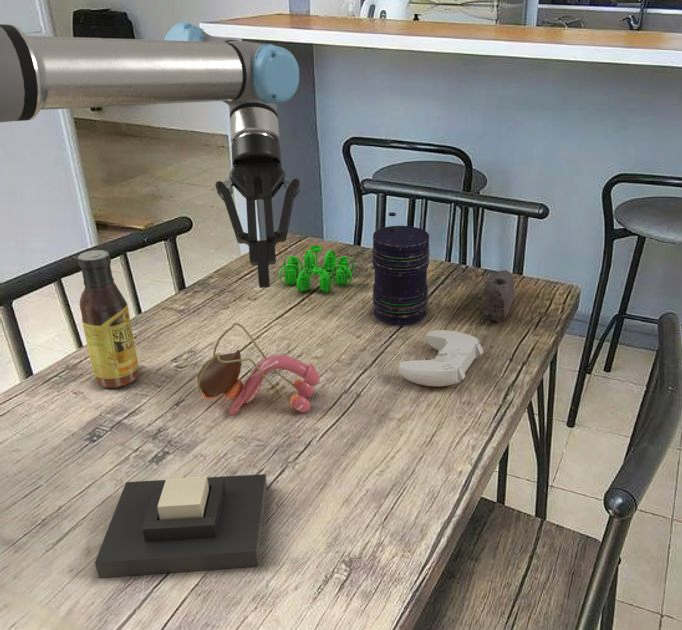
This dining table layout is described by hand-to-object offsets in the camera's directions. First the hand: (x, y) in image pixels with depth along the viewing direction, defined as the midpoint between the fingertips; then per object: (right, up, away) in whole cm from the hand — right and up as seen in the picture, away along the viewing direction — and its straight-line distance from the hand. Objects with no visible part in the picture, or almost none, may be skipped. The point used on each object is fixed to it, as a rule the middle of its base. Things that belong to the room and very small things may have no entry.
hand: (264, 284), depth 101 cm
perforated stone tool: (+38, -4, +24) cm, 45 cm away
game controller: (+27, -13, +6) cm, 30 cm away
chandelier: (+3, +2, +33) cm, 34 cm away
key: (-2, -25, -27) cm, 37 cm away
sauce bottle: (-22, -14, +1) cm, 26 cm away
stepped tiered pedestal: (-3, -28, -25) cm, 38 cm away
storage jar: (+20, -4, +22) cm, 30 cm away
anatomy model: (+1, -17, -3) cm, 18 cm away
